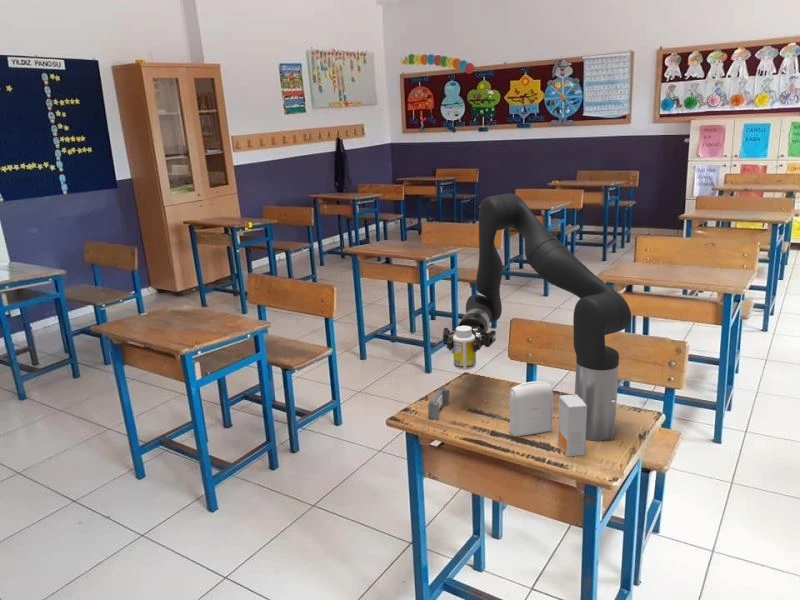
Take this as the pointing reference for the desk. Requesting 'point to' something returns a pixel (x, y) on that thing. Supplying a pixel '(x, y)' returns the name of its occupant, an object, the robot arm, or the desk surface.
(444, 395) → the grey bridge block
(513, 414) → the photo printer
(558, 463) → the desk surface
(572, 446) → the skincare box
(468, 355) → the supplement bottle
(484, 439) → the desk surface
